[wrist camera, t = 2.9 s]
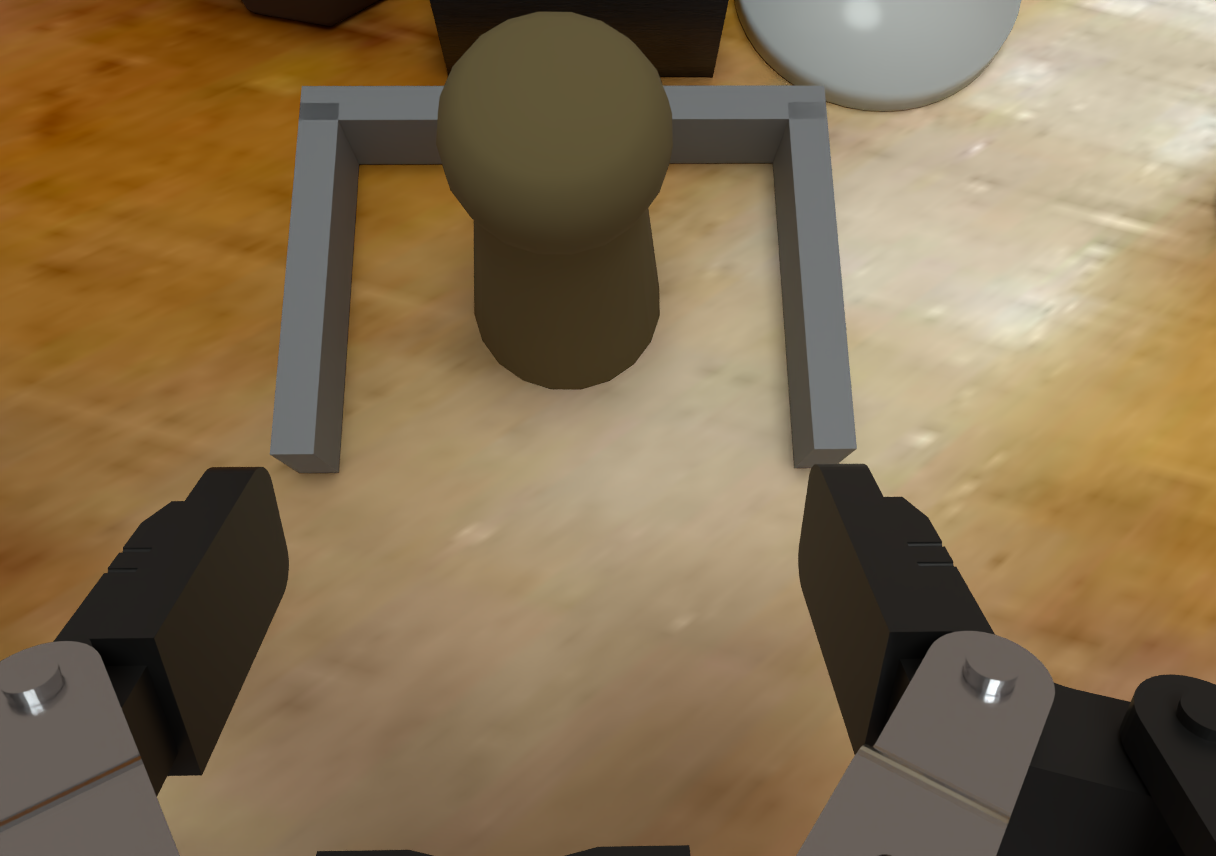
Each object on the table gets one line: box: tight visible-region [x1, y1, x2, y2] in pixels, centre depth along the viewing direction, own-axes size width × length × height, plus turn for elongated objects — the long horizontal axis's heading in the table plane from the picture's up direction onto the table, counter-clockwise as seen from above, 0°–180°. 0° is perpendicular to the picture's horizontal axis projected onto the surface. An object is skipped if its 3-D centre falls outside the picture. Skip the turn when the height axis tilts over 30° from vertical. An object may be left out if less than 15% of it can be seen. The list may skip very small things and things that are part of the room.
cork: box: [436, 12, 673, 389], centre depth 23 cm, size 6×6×11 cm
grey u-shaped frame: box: [270, 86, 857, 473], centre depth 27 cm, size 16×12×2 cm
